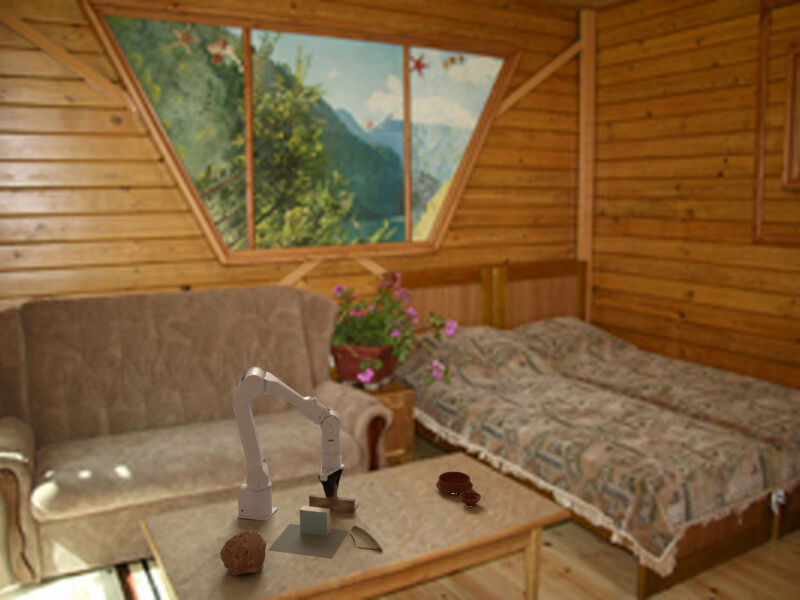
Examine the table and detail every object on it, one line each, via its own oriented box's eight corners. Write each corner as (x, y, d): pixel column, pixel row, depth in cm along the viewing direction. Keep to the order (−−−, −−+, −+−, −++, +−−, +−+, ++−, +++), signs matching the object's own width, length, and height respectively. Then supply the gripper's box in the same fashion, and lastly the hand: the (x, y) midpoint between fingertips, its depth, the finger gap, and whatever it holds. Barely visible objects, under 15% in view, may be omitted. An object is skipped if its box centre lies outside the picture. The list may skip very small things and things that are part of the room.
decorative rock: (256, 586, 176) (254, 548, 174) (213, 581, 178) (211, 544, 176) (274, 558, 189) (273, 523, 187) (234, 554, 191) (232, 519, 189)
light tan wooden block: (300, 532, 201) (299, 509, 200) (303, 528, 204) (302, 505, 203) (327, 536, 200) (326, 512, 198) (330, 531, 202) (329, 508, 201)
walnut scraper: (309, 509, 217) (308, 483, 215) (315, 501, 222) (315, 476, 220) (353, 514, 213) (353, 488, 212) (358, 505, 219) (358, 480, 217)
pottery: (462, 480, 236) (462, 468, 236) (492, 506, 218) (492, 492, 217) (430, 486, 232) (430, 473, 231) (457, 513, 214) (457, 499, 213)
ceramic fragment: (383, 552, 192) (383, 538, 192) (367, 558, 189) (367, 544, 189) (354, 532, 203) (354, 520, 203) (338, 538, 200) (338, 525, 200)
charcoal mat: (268, 550, 192) (268, 550, 192) (289, 524, 207) (289, 523, 207) (331, 559, 188) (331, 558, 188) (348, 531, 203) (348, 530, 203)
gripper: (335, 461, 204) (336, 505, 207) (351, 443, 218) (351, 484, 221) (312, 459, 206) (313, 503, 208) (329, 441, 220) (330, 482, 222)
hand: (331, 493), depth 215 cm, fingers open, 4 cm apart
